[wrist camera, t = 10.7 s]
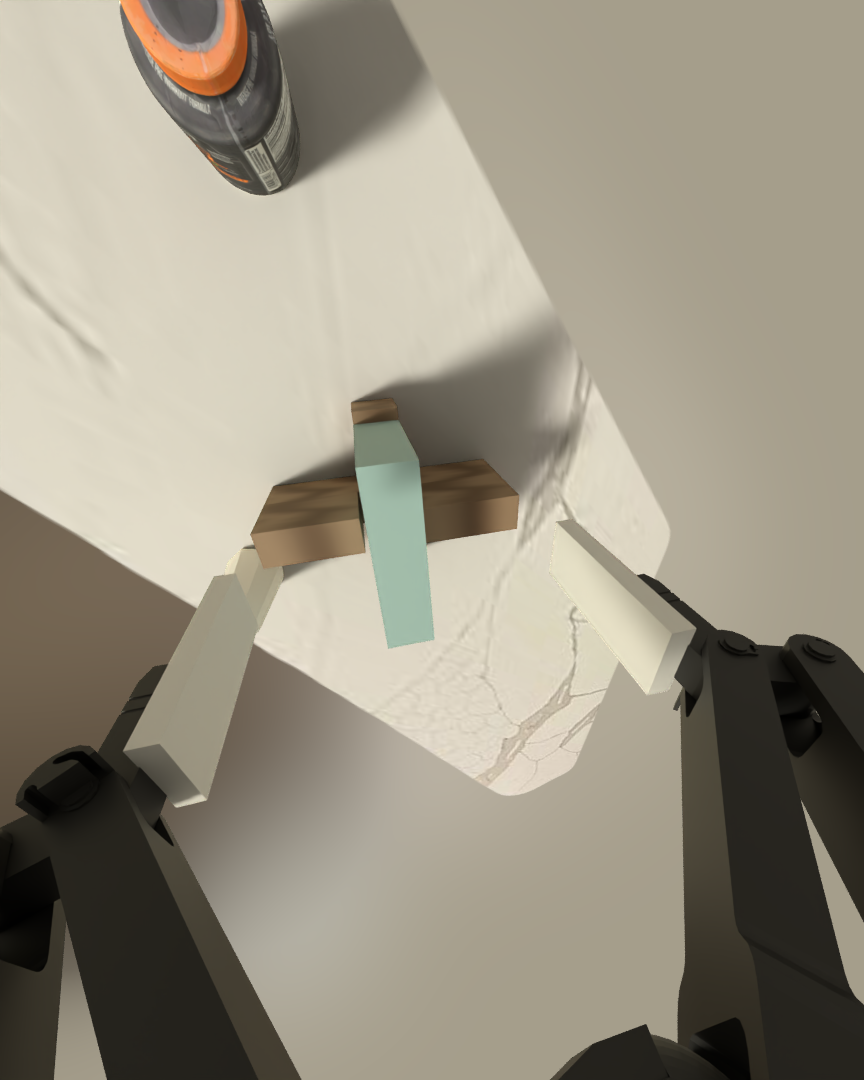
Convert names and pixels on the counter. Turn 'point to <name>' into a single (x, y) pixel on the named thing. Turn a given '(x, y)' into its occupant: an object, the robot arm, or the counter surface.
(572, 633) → the counter surface
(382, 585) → the teal block
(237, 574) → the pepper shaker
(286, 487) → the walnut joint base
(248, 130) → the pill bottle
